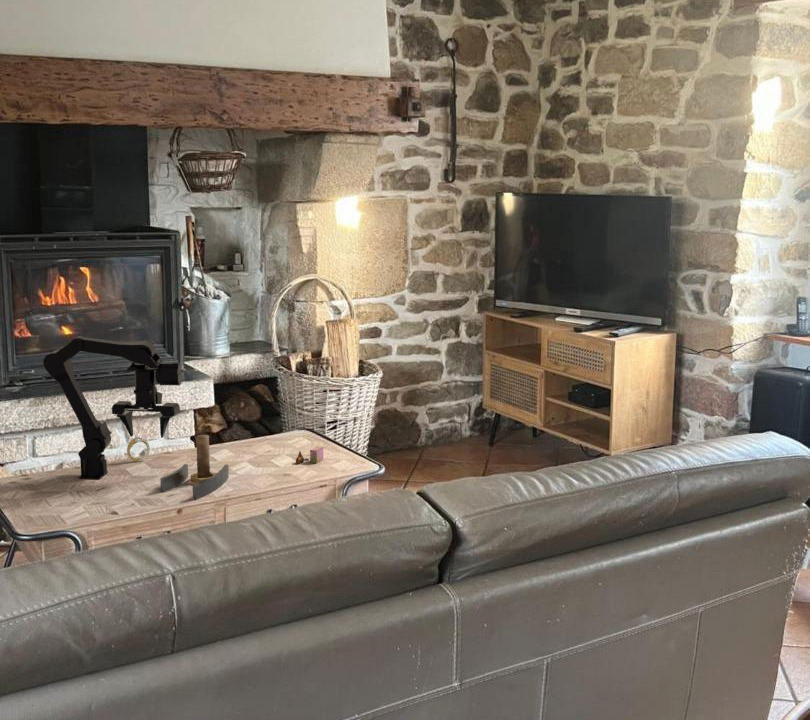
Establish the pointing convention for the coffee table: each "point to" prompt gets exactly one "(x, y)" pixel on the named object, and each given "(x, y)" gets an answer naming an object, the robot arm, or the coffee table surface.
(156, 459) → the coffee table surface
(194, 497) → the gray curved bar
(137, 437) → the ring
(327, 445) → the coffee table surface
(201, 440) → the brown cylinder
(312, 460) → the perfume bottle
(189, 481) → the tile
